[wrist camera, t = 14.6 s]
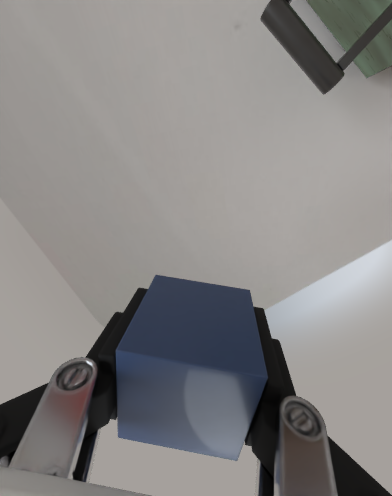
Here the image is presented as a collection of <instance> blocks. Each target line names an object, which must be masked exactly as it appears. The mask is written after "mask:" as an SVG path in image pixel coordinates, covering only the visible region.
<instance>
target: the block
mask: <svg viewBox="0 0 392 496" xmlns="http://www.w3.org/2000/svg"><path fill="white" fill-rule="evenodd" d="M116 379H117V417H118V418H117V419H118V437H119V438H123V439H128V440H133V441H138V442H143V443H148V444H153V445H159V446H163V447H169V448H174V449H179V450H184V451H189V452H194V453H199V454H204V455H209V456H214V457H220V458H224V459H230V460H235V461H237V460H238V457H239V454H240V452H241V449H242V446H243V443H244V441H245V438H246V436H247V433H248V430H249V427H250V425H251V422H252V419H253V417H254V414H255V411H256V409H257V406H258V403H259V400H260V398H261V395H262V392H263V390H264V387H265V384H266V381H267V379H268V376H267V371H266V366H265V361H264V356H263V351H262V347H261V342H260V337H259V332H258V327H257V322H256V318H255V313H254V308H253V303H252V298H251V293H250V290H246V289H240V288H234V287H228V286H222V285H215V284H209V283H203V282H197V281H191V280H185V279H179V278H172V277H166V276H160V275H155V277H154V279H153V281H152V283H151V285H150V287H149V289H148V291H147V292H146V294H145V296H144V298H143V300H142V302H141V304H140V306H139V308H138V309H137V311H136V313H135V315H134V317H133V319H132V321H131V323H130V325H129V326H128V328H127V330H126V332H125V334H124V336H123V338H122V340H121V341H120V343H119V345H118V347H117V349H116Z"/></svg>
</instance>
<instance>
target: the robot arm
mask: <svg viewBox="0 0 392 496" xmlns="http://www.w3.org/2000/svg"><path fill="white" fill-rule="evenodd" d="M147 291H148V289H144V288H138V289H137V291H136V293H135V294H134V296H133V298H132V299H131V301H130V303H129V304H128V306H127V308H126V309H125V311H124V313H121V312H116V313H115V314H114V315H113V317H112V318H111V320H110V321H109V323H108V324H107V326H106V327H105V329H104V330H103V332H102V333H101V335H100V336H99V338H98V339H97V341H96V342H95V344H94V345H93V347H92V348H91V350H90V351H89V353H88V354H87V356H86V358H83V357H81V358H74V359H71V360H69V361H67V362H65V363H64V364H62V365H61V366H60V367H59V368H58V369H57V370H56V371H55V372H54V374H53V375H52V377H51V379H50V382H49V383H47V384H45V385H42V386H41V387H38V388H36V389H34V390H31V391H30V392H27V393H25V394H23V395H21V396H18V397H16V398H14V399H12V400H9V401H7V402H5V403H3V404H1V405H0V496H150V495H145V494H140V493H136V492H131V491H126V490H121V489H116V488H111V487H106V486H101V485H96V484H91V483H89V480H90V475H91V471H92V466H93V461H94V457H95V453H96V448H97V444H98V439H99V435H100V429H101V427H103V426H105V425H106V424H108V423H109V420H110V419H114V420H116V418H117V379H116V349H117V347H118V345H119V343H120V341H121V340H122V338H123V336H124V334H125V332H126V330H127V328H128V326H129V325H130V323H131V321H132V319H133V317H134V315H135V313H136V311H137V309H138V308H139V306H140V304H141V302H142V300H143V298H144V296H145V294H146V292H147ZM253 308H254V313H255V318H256V322H257V327H258V332H259V337H260V342H261V347H262V351H263V356H264V361H265V366H266V371H267V376H268V379H267V381H266V384H265V387H264V390H263V392H262V395H261V398H260V400H259V403H258V406H257V409H256V411H255V414H254V417H253V419H252V422H251V425H250V427H249V430H248V433H247V436H246V438H245V445H248V446H252V451H253V453H254V454H255V455H256V456H257V458H258V462H257V475H256V489H255V496H392V495H391V494H390V493H389V492H388V491H386V490H385V489H384V488H383V487H382V486H381V485H380V484H379V483H378V482H377V481H376V480H375V479H374V478H372V477H371V476H370V475H369V474H368V473H367V472H366V471H365V470H364V469H363V468H362V467H361V466H360V465H359V464H357V463H356V462H355V461H354V460H353V459H352V458H351V457H350V456H349V455H348V454H347V453H345V451H343V450H342V449H341V448H340V447H339V446H338V445H337V444H336V443H335V442H334V441H332V439H330V437H328V436H327V431H326V426H325V423H324V420H323V418H322V416H321V414H320V413H319V411H318V410H317V409H316V408H315V407H314V406H313V405H312V404H311V403H310V402H308V401H307V400H305V399H303V398H301V397H298V396H296V393H295V390H294V387H293V384H292V380H291V377H290V374H289V370H288V367H287V364H286V361H285V358H284V354H283V351H282V348H281V345H280V342H279V340H277V339H272V338H271V334H270V330H269V327H268V323H267V319H266V316H265V312H264V309H263V308H258V307H253Z"/></svg>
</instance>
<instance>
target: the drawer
mask: <svg viewBox="0 0 392 496" xmlns="http://www.w3.org/2000/svg"><path fill="white" fill-rule="evenodd" d="M291 1H292V0H271V1H270V2H269V4H268V5H267V7H266V8H265V10H264V12H263V14H262V16H261V21H262V22H263V24H264V25H265V26H266V27H267V28H268V30H269V31H270V32H271V33H272V34H273V35H274V37H275V38H276V39H277V40H278V41H279V43H280V44H281V45H282V46H283V47H284V49H285V50H286V51H287V52H288V53H289V55H290V56H291V57H292V58H293V59H294V61H295V62H296V63H297V64H298V65H299V66H300V68H301V69H302V70H303V71H304V72H305V74H306V75H307V76H308V77H309V78H310V80H311V81H312V82H313V83H314V84H315V86H316V87H317V88H318V89H319V90H320V91H321V93H322V94H326V93H327V92H328V91H330V90H331V89H332V88H333V87H334V86H335V85H336V84H337V83H338V82H339V81H340V80H341V79H342V77H343V76H344V72H343V70H345V68H346V67H347V66H348V65H349V64H350V63H351V62H352V61H354V62H355V64H356V65H357V66H358V68H359V69H360V70H361V71H362V73H363V74H364V75H365V77H366V78H368V77H370V76H372V75H374V74H376V73H378V72H380V71H382V70H384V69H386V68H388V67H390V66H392V0H306V1H307V2H308V3H309V5H310V6H311V7H312V8H313V10H314V11H315V12H316V14H317V15H318V16H319V17H320V19H321V20H322V21H323V23H324V24H325V25H326V26H327V28H328V29H329V30H330V32H331V33H332V34H333V35H334V37H335V38H336V39H337V41H338V42H339V43H340V44H341V46H342V47H343V48H344V50H345V51H346V53H345V54H344V55H343V56H342V57H341V58H340V59H339V60H338V62H337V63H336V62H335V61H334V60H333V58H332V57H331V56H330V55H329V53H328V52H327V51H326V50H325V48H324V47H323V46H322V45H321V43H320V42H319V41H318V40H317V38H316V37H315V36H314V35H313V33H312V32H311V31H310V30H309V28H308V27H307V26H306V25H305V23H304V22H303V21H302V20H301V18H300V17H299V16H298V15H297V13H296V12H295V11H294V10H293V8H292V7H291V6H290V5H289V4H290V2H291Z"/></svg>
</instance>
